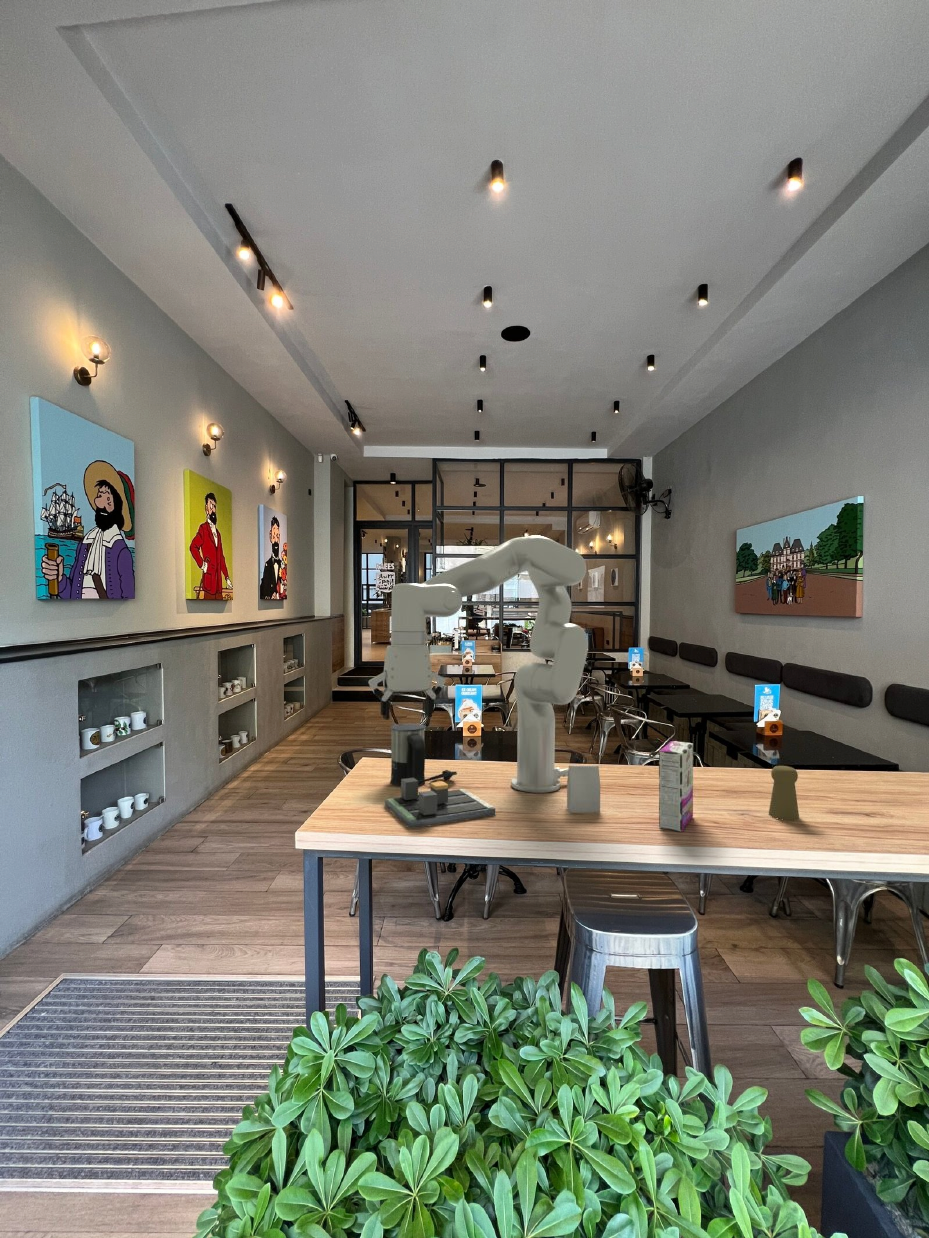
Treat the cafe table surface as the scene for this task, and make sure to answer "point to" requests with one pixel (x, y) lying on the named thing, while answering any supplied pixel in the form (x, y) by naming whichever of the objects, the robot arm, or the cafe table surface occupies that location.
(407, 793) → the block
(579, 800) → the grey boxy piece
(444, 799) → the block
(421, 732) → the milk frother
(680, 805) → the candy bar box
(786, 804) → the cork
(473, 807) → the panel
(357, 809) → the cafe table surface
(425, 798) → the breaker near
